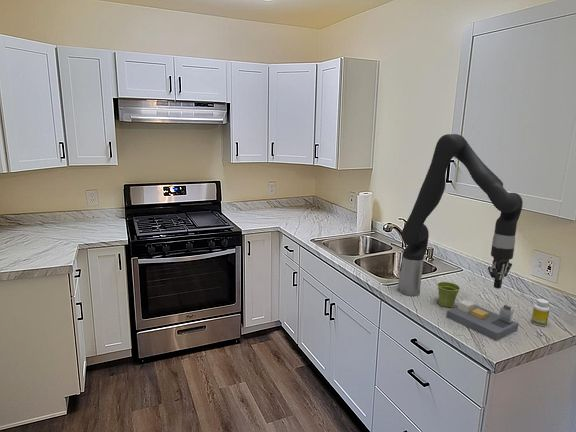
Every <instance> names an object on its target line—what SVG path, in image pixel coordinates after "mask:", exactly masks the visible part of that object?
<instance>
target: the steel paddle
mask: <svg viewBox="0 0 576 432" xmlns="http://www.w3.org/2000/svg"><path fill="white" fill-rule="evenodd" d="M513 314H514V310H512V307H511V306H509V305H507V304H504V305H503V306H500V310H499V314H498V315H499V320H502V321H504V322H507V323H511V320H512V321H513Z"/></svg>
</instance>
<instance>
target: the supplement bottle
mask: <svg viewBox="0 0 576 432" xmlns="http://www.w3.org/2000/svg"><path fill="white" fill-rule="evenodd" d="M549 314H550V307H549V300H547V299H544V298H537V299H536V303H535V304H533V306H532V313H531V317H530V318H531V319H530V322H531V323H532V324H534V325H536V326H539V327H545V326H547V323H548V319H549Z"/></svg>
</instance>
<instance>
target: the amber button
mask: <svg viewBox="0 0 576 432" xmlns="http://www.w3.org/2000/svg"><path fill="white" fill-rule="evenodd" d="M488 314H489V313H488V312H486V311H483V310H481V309H479V308H478V309H475V310H473V311H472V312H471V315H472V316H474V317H477V318H479V319H481V320H483V319H485V318H487V317H488Z"/></svg>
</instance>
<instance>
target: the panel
mask: <svg viewBox="0 0 576 432" xmlns="http://www.w3.org/2000/svg"><path fill="white" fill-rule="evenodd" d="M478 308H479V309H481V310H483V311H486V312H488V313H489V314H488V317H487V318H485V319H483V320H481V319H479V318H477V317H474V316H472V315H471V313H465V312H463V311H461V310H459V309H458V306H456V307H453V308H452V307H451V308H449V309H448V310H446V318H447V319H449V320H452V321H453V322H456V323H458V324H460V325H462V326H464V327H466V328H469V329H471V330H473V331H475V332H476V333H478V334H480V335H483V336H485V337H487V338H489V339H491V340H493V341H494V342H496V341H498V340H501V339H502V338H505V337H507V336H509V335H510V334H512V333H515V332H517V331H518V329H519V324H520V323H519V322H516V321H515V320H513V319H512V320H511V323H507V322H504V321H502V320H499V315H500V314H497V313H495V312H493V311H491V310H488V309H485V308H483V307H481V306H478V305H476V304H475V308H474V310H475V309H478Z"/></svg>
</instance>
